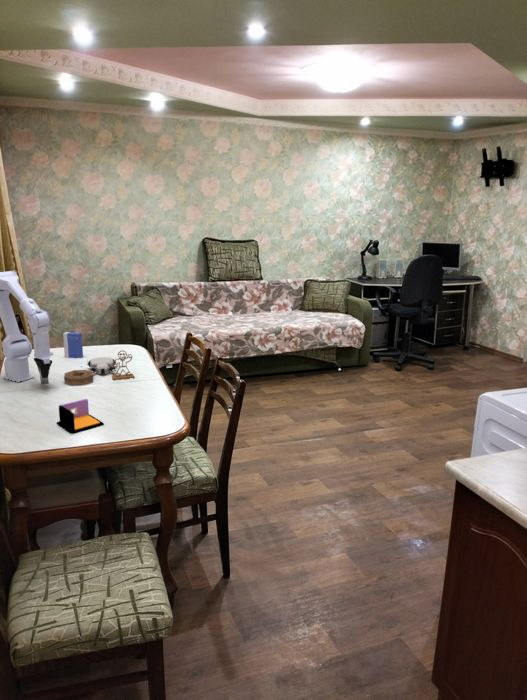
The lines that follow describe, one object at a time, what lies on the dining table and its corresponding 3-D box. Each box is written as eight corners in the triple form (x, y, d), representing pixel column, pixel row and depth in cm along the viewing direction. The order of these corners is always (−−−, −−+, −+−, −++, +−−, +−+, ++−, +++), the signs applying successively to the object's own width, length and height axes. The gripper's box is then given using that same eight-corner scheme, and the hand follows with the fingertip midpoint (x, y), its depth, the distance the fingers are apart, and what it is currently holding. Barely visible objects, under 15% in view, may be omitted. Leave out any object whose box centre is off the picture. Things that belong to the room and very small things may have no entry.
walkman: (83, 356, 258) (81, 332, 254) (80, 358, 255) (79, 333, 252) (67, 355, 258) (65, 331, 255) (64, 357, 256) (62, 332, 252)
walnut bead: (58, 382, 222) (58, 375, 221) (79, 375, 231) (79, 368, 231) (78, 387, 217) (77, 380, 216) (98, 379, 226) (98, 372, 226)
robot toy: (118, 377, 233) (115, 364, 247) (117, 367, 232) (115, 355, 245) (88, 379, 230) (87, 366, 243) (87, 369, 228) (86, 357, 241)
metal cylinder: (38, 383, 216) (37, 364, 214) (45, 381, 218) (43, 362, 216) (44, 385, 215) (42, 365, 212) (50, 383, 217) (48, 363, 215)
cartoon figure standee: (113, 380, 226) (111, 352, 223) (111, 377, 230) (110, 350, 227) (134, 378, 230) (133, 351, 226) (133, 375, 233) (132, 348, 230)
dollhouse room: (55, 424, 183) (53, 405, 181) (88, 415, 191) (87, 396, 189) (71, 435, 175) (69, 415, 173) (105, 425, 183) (104, 406, 181)
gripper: (56, 346, 208) (59, 379, 212) (47, 337, 220) (50, 369, 224) (37, 348, 205) (40, 382, 208) (29, 339, 216) (31, 372, 220)
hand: (44, 376), depth 216 cm, fingers closed on metal cylinder, 3 cm apart
